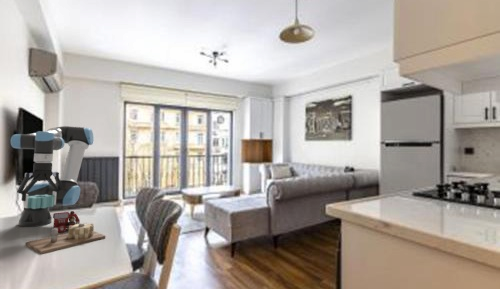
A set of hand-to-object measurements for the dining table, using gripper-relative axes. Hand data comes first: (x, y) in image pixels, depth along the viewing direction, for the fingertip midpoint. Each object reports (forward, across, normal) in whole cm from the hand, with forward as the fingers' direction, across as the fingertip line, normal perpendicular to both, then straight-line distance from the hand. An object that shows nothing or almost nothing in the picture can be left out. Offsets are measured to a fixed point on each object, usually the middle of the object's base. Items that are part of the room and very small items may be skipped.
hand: (40, 205), depth 135 cm
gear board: (+16, +7, -15) cm, 23 cm away
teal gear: (0, 0, 0) cm, 0 cm away
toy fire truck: (+16, +14, +3) cm, 22 cm away
